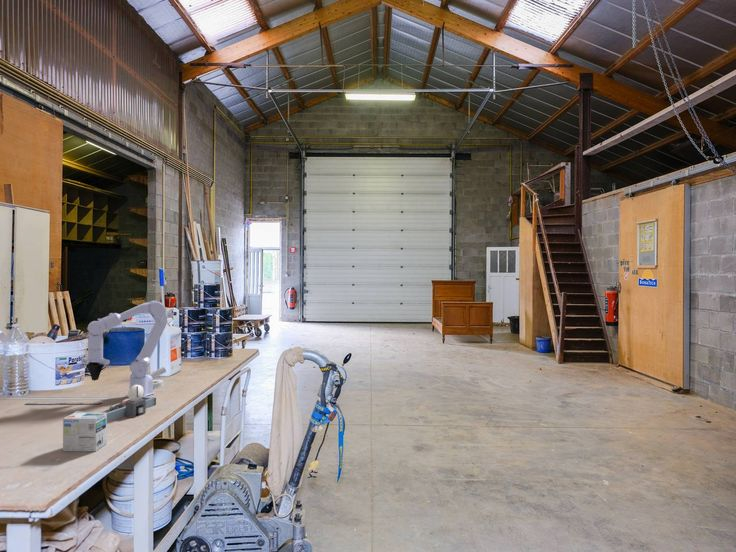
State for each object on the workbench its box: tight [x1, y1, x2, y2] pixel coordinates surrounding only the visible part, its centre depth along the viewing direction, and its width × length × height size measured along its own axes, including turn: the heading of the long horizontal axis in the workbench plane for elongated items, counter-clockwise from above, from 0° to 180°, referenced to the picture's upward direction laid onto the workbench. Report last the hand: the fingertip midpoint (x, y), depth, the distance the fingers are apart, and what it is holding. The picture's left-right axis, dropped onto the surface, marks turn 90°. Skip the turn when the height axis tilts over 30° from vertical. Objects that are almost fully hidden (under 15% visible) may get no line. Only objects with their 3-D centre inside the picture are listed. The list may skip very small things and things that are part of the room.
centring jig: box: [73, 385, 157, 422], centre depth 185 cm, size 27×18×12 cm
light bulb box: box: [62, 411, 108, 452], centre depth 149 cm, size 11×7×11 cm, turn 92°
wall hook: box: [147, 366, 167, 389], centre depth 227 cm, size 9×10×10 cm
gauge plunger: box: [124, 406, 143, 414], centre depth 183 cm, size 2×8×2 cm, turn 70°
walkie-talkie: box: [100, 397, 144, 413], centre depth 189 cm, size 9×4×20 cm
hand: (95, 379), depth 200 cm, fingers closed
